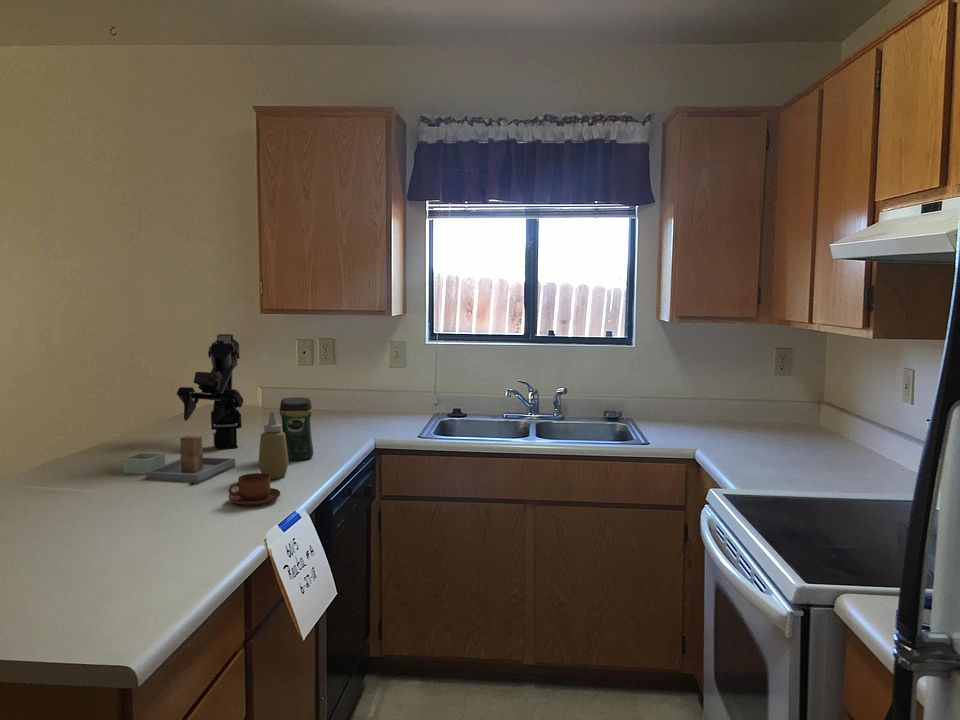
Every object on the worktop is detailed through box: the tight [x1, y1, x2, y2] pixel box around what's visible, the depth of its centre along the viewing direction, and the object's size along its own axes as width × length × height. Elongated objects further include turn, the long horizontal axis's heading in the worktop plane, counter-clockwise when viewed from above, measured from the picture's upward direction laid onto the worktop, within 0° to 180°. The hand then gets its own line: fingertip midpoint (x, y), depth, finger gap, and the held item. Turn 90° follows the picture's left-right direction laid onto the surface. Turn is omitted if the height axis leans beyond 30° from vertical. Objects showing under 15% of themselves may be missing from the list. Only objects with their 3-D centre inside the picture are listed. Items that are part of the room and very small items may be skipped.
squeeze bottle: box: [257, 410, 290, 480], centre depth 196 cm, size 8×8×18 cm
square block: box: [180, 434, 204, 473], centre depth 199 cm, size 4×4×10 cm
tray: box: [145, 456, 236, 485], centre depth 199 cm, size 19×15×2 cm
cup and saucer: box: [228, 472, 281, 506], centre depth 174 cm, size 12×12×6 cm
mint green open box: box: [122, 452, 166, 475], centre depth 200 cm, size 8×8×4 cm
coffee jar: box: [279, 396, 314, 461], centre depth 218 cm, size 10×8×19 cm
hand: (199, 420), depth 208 cm, fingers open, 9 cm apart
